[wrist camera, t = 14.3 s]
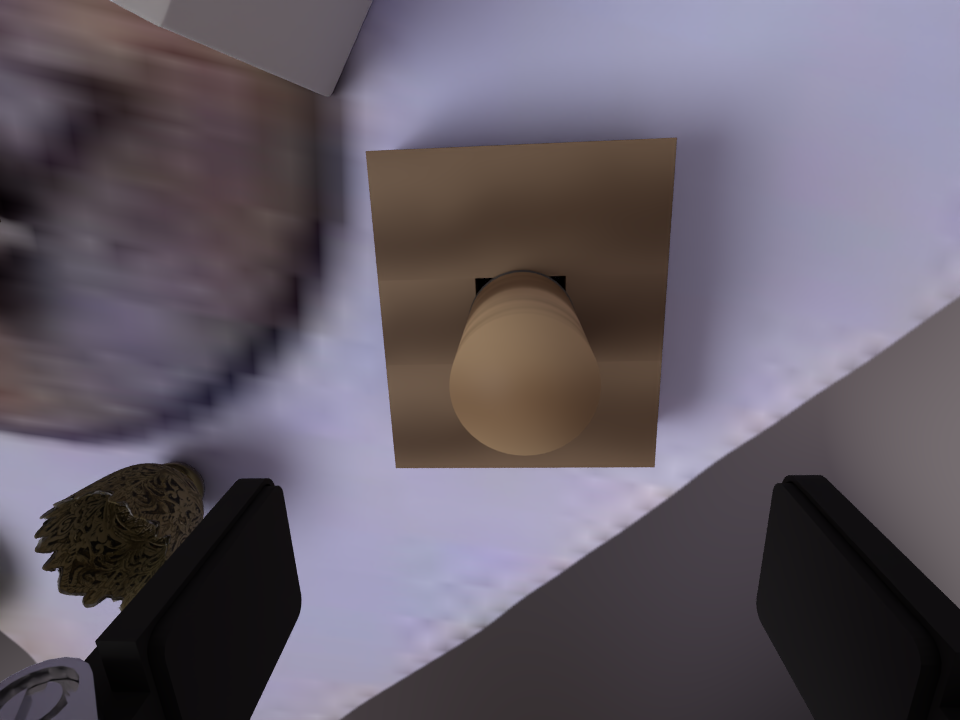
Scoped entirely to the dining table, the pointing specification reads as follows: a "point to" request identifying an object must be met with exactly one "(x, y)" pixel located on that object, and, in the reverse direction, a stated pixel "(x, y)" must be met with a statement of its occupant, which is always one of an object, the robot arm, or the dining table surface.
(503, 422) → the oak peg
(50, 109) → the dining table surface
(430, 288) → the walnut block
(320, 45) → the milk carton
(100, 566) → the dark rounded textured piece
